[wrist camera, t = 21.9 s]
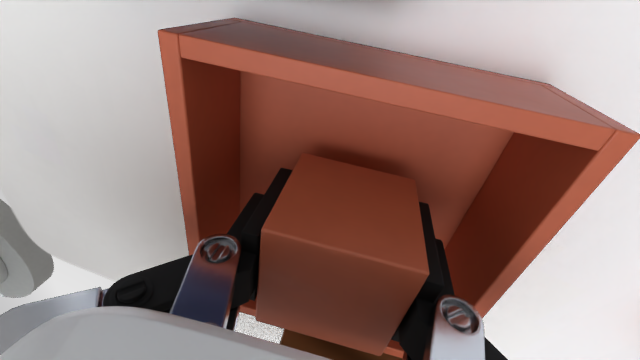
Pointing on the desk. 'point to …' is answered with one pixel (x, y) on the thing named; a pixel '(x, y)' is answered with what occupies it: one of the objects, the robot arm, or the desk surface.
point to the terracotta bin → (384, 140)
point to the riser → (328, 348)
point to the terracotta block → (341, 254)
